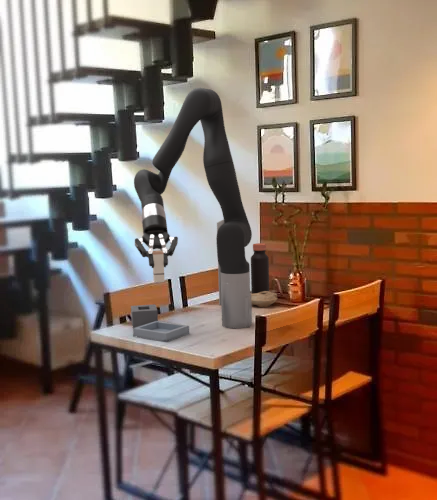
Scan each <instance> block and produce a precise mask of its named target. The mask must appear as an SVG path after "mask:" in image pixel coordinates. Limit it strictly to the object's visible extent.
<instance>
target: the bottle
mask: <svg viewBox="0 0 437 500" xmlns="http://www.w3.org/2000/svg"><path fill="white" fill-rule="evenodd" d="M266 250H267V244H266V243H264V242H263V243H253V244H252V252H253V253H252V255H251V256H250V292H251V294H255V293H259V292H263V291H269V292H270V268H269V267H270V266H269V264H270V263H269V262H270V261H269V260H270V259H269V256H268V255H267V254H266Z"/></svg>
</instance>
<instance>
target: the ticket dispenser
mask: <svg viewBox="0 0 437 500" xmlns="http://www.w3.org/2000/svg"><path fill="white" fill-rule="evenodd" d="M130 311H131V312H130V314H131V315H130V316H131V317H130V318H131V327H132V326H133V327H132V329H133V328H136V327H139V326H142V325H145V324H148V323H151V322H154V321H159V320H158V319H159V318H158V308H157V305H156V304H141V305H140V304H139V305H130Z"/></svg>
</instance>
